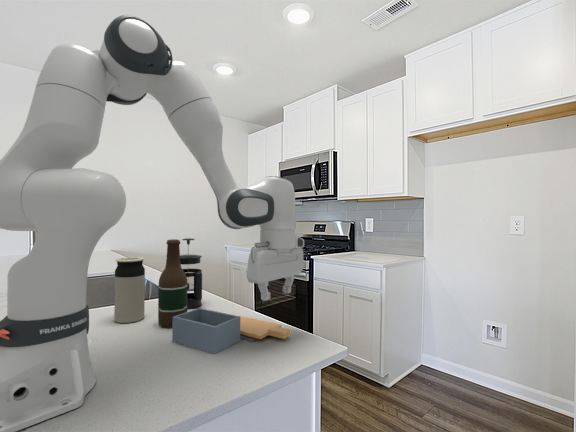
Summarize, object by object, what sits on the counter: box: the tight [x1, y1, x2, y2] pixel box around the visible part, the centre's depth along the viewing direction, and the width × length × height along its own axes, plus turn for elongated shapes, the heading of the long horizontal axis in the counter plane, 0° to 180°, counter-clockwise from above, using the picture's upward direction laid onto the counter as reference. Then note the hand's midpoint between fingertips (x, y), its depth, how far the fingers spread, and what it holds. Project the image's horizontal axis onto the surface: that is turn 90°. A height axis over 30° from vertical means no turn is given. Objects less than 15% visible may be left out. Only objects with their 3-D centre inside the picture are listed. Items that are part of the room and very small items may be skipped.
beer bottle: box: [157, 238, 188, 329], centre depth 91 cm, size 8×8×24 cm
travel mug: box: [113, 256, 146, 324], centre depth 95 cm, size 8×8×18 cm
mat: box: [240, 334, 259, 343], centre depth 87 cm, size 11×14×1 cm
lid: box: [239, 315, 292, 340], centre depth 85 cm, size 10×19×2 cm, turn 59°
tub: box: [171, 307, 241, 355], centre depth 79 cm, size 9×14×6 cm, turn 60°
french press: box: [180, 237, 203, 311], centre depth 109 cm, size 12×9×23 cm
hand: (276, 296), depth 81 cm, fingers open, 8 cm apart
